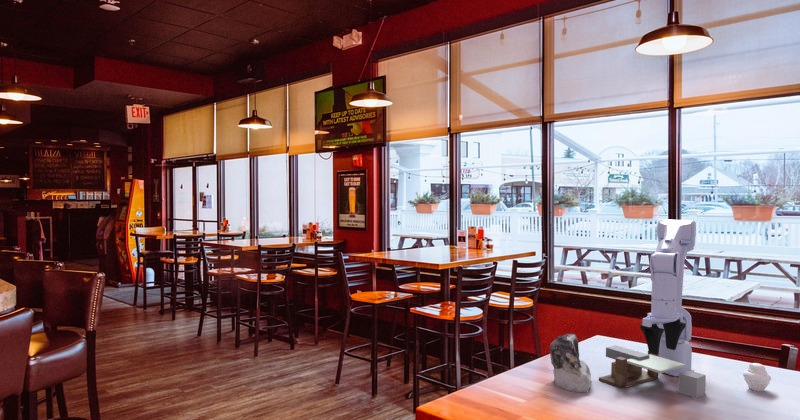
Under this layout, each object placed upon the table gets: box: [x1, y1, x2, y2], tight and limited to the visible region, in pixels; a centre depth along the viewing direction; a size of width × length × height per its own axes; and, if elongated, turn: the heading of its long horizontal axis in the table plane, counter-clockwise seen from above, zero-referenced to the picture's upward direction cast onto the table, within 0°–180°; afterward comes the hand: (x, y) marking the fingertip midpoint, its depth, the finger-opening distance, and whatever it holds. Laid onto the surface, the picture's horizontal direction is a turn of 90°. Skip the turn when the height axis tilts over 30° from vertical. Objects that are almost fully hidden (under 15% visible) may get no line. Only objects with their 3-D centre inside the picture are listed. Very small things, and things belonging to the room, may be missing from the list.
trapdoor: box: [605, 345, 685, 374], centre depth 144 cm, size 11×18×3 cm, turn 31°
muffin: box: [742, 362, 772, 392], centre depth 140 cm, size 6×6×7 cm
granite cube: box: [678, 370, 707, 399], centre depth 137 cm, size 4×4×5 cm
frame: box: [598, 350, 659, 389], centre depth 147 cm, size 16×7×8 cm, turn 121°
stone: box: [549, 332, 593, 393], centre depth 142 cm, size 14×10×15 cm
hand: (662, 351), depth 138 cm, fingers open, 7 cm apart
